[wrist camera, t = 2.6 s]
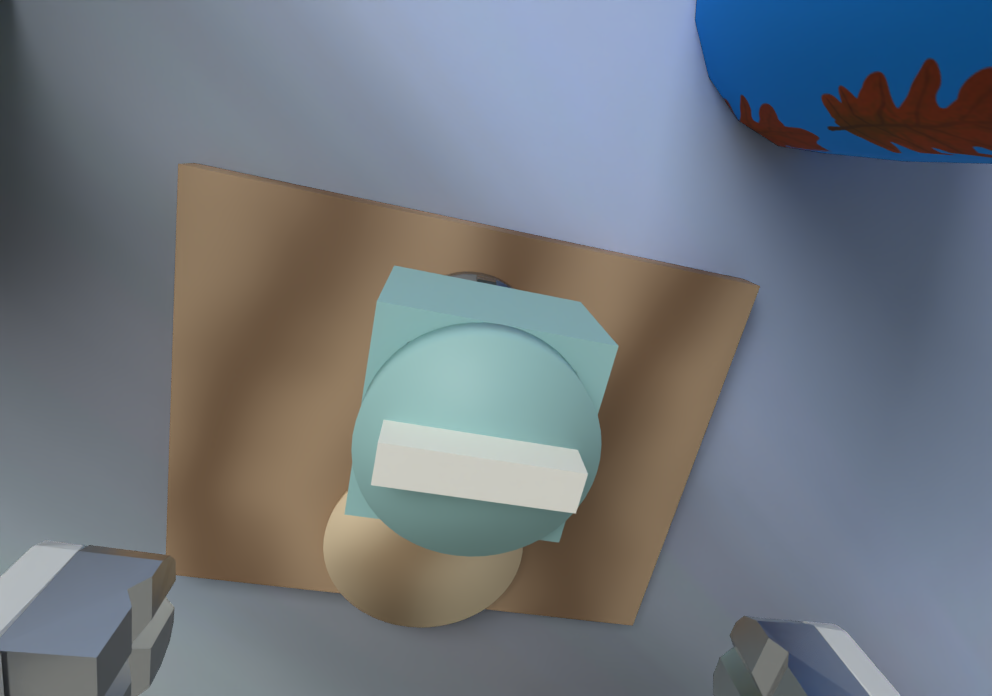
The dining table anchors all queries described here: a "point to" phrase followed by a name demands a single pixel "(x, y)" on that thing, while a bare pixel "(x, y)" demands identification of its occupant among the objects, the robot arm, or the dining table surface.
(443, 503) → the rotary switch
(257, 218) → the board
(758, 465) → the dining table surface
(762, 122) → the thermos
